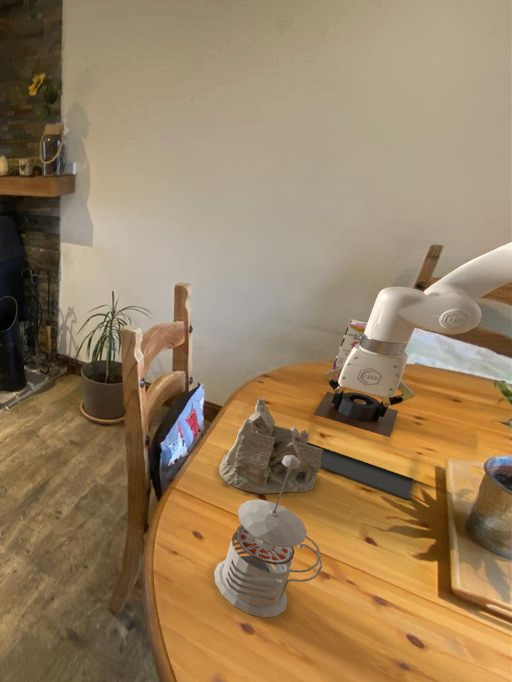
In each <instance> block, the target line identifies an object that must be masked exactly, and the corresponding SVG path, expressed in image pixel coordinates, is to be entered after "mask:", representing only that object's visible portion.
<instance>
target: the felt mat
mask: <svg viewBox="0 0 512 682" xmlns="http://www.w3.org/2000/svg"><path fill="white" fill-rule="evenodd" d="M307 445H310V446H313V447H317V448H320V449H323V453H322V456H321V460H320V461H321V464H320V465H321V467H320V469H322V470H324V471H328V472H331V473H333V474H336V475H338V476H341V477H344V478H347V479H349V480H352V481H355V482H357V483H360V484H362V485H366V486H368V487H371V488H374V489H376V490H379V491H382V492H384V493H386V494H389V495H392V496H395V497H397V498H401V499H403V500H406V501H410V498H411V492H412V489H413V482H414V478H412V477H409V476H407V475H404V474H401V473H398V472H395V471H392V470H390V469H386V468H385V467H384V468H383V467H381V466H378V465H375V464H372V463H369V462H366V461H364V460H360V459H357V458H354V457H352V456H349V455H346V454H343V453H340V452H337V451H334V450H330V449H329V448H325V447H322V446H320V445H317V444H314V443H311V442H309V441H307Z"/></svg>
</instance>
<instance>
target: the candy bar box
mask: <svg viewBox="0 0 512 682" xmlns="http://www.w3.org/2000/svg"><path fill="white" fill-rule="evenodd" d="M367 323H368V321H363V320H357V319H353V318H352V319H350V320H349V322H348V324H347V327H346V329H345V332H344V335H343V337H342V340H341V343H340V346H339V347H338V351H337V353H336V357H335V359H334V362H333V365H332V368H331V370H334V369H337V368H340V367H344V364H345V362H346V360H347V358H348V356H349V354H350V352H351V351H352V349H353V348H354V346H355V345H356V344H358V343H359V341H357V340H354V339H353V338H354V335H355V334H362V333H364V331H365V329H366V326H367ZM335 377H336V378H339V377H340V374H339V375H336V376H334V378H335Z"/></svg>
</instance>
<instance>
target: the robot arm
mask: <svg viewBox="0 0 512 682" xmlns="http://www.w3.org/2000/svg"><path fill="white" fill-rule="evenodd" d="M511 283H512V241H511V242H508V243H505V244H503V245H501V246H499V247H497V248H495V249H493V250H490V251H488V252H486V253H484V254H482V255H479V256H477V257H475V258H472V259H471V260H468V262H466V263H463V264H462V265H460V266H459V267H457V268H455V269H454V270H452V271H451V272H449V273H447V274H446V275H444V276H443V277H441V278H440V279H439V280H437V281H435V282H434V283H433V284H431V285H430V286H429V287H427V288H426V289H425V290H423V291H422V290H421V289H420V290H419V289H417V288H414V287H413V288H412V287H407V286H388V287H384V288H383V289H381V290H380V291H379V293H378V294H377V297H376V298H375V301H374V305H373V308H372V310H371V312H370V315H369V318H368V321H367V322H368V323H367V326H366V329H365V331H364V333H362V334H355V335H354V338H353V339H354V340H357V341H359V343H358V344H356V345H355V346H354V348H353V349H352V351H351V352H350V354H349V356H348V358H347V360H346V362H345V364H344V367H340V368H337V369H334V370H332V369H331V370H327V371H325V372H324V374H323V377H324V378H325V380H326V381H327V382H328V385H329V387H331V389H332V390H333V393H335V395H334V397H333V400H332V403H334V404H335V405H334V407H333V408H334V409H337V408H338V405H339V402H340V400H341V397H342V395H343V393H345V390H346V389H349V390H352V391H356V392H358V393H362V394H366V395H371V396H376V397H380V398H381V401H380V406H379V408H378V411H377V413H376V416H375V418H374V420H376V421H378V419H379V417H384V415H385V413H386V411H387V408H390V407H392V406H394V405H398V404H401V403H402V402H405V401H408V400H410V399H414V398H415V392H414V391H413V390H412V389H411V388H410V386H408V385H407V384H406V383H405V382H404V381H403V380H402V378H403V376H404V373H405V370H406V366H407V362H408V353H407V352H406V349H407V347H408V344H409V342H410V339H411V337H412V335H413V333H414V331H415V328H417V329H421V330H426V331H429V332H434V333H436V334H444V335H459V334H463V333H467V332H469V331H471V330H473V329H475V328H476V327H477V326H478V325H479V324H480V322H481V320H482V316H483V315H482V309H481V307H480V305H479V304H478V303H477V302H476V301H478V300H479V299H481V298H482V297H484V296H486V295H487V294H489V293H491V292H493V291H494V290H496V289H499V288H501V287H503V286H506V285H508V284H511ZM339 374H340V377H338V380H337V379H336V378H335V376H336V375H339ZM397 390H399V392H401V394H398V395H395V394H396V393H397Z"/></svg>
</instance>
